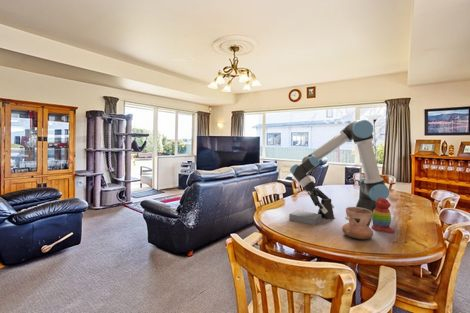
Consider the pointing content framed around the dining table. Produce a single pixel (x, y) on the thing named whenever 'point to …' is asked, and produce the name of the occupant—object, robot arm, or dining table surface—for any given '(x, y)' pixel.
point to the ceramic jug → (358, 223)
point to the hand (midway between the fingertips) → (329, 210)
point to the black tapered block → (328, 206)
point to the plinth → (305, 217)
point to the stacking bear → (382, 216)
